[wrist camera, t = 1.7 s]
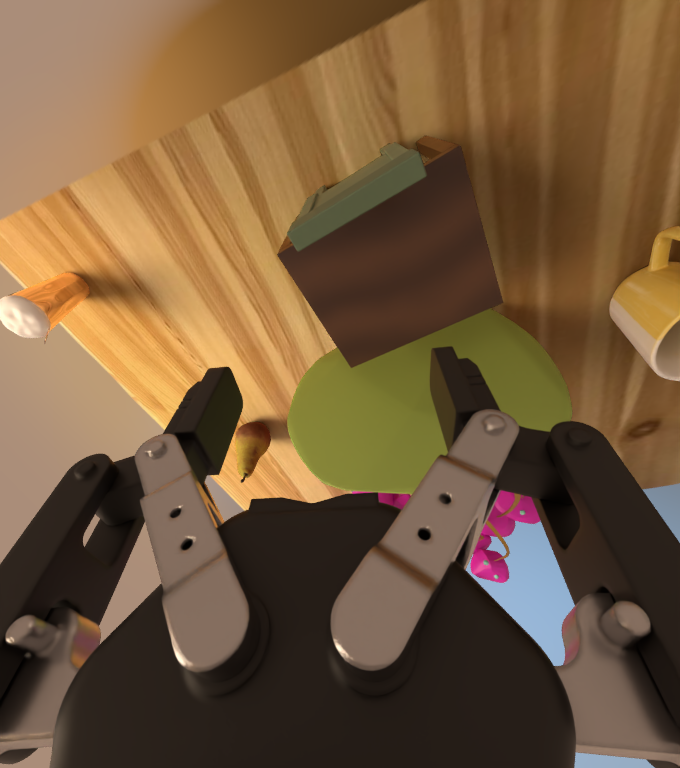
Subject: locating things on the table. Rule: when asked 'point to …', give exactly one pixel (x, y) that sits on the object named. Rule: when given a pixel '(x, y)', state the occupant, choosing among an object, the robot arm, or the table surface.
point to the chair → (356, 194)
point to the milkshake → (42, 305)
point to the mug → (653, 308)
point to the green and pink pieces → (422, 417)
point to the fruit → (250, 446)
